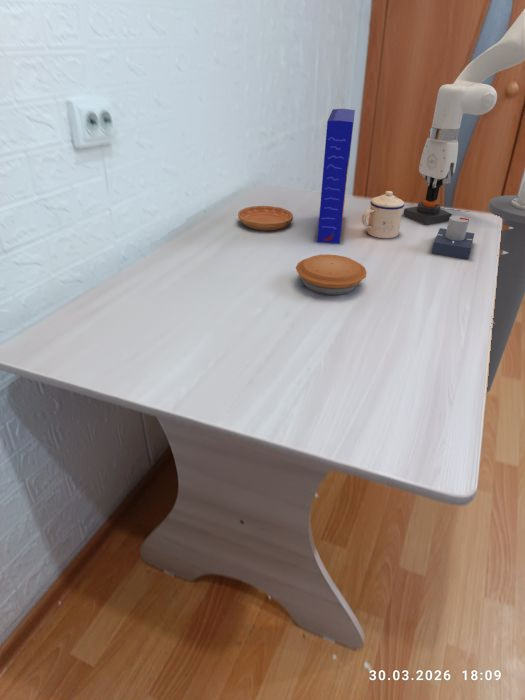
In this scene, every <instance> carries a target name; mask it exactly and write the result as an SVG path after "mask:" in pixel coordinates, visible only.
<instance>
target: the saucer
mask: <svg viewBox="0 0 525 700" xmlns="http://www.w3.org/2000/svg"><path fill="white" fill-rule="evenodd" d="M237 218H238V220H239V221H240V222H241V223H242V224H243V225H244V226H246V227H247V228H250V229H253V230H256V231H277V230H281V229H284V228H285V227H286V226H288V225H289V224H290V223H291V222H292V221H293V218H294V214H293V212H291V211H290V210H288V209H286V208H282V207H280V206H279V207H278V206H272V205H253V206H248V207H244V208H242V209H240V210H239V211H238V213H237Z"/></svg>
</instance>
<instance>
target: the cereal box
mask: <svg viewBox="0 0 525 700" xmlns="http://www.w3.org/2000/svg"><path fill="white" fill-rule="evenodd" d="M355 113H356V110H355V109H349V108H333V109H331V112H330V114H329V117H328V119H327V120H326V121H327V122H326V131H325V132H326V133H325V143H324V144H325V145H324V156H323V168H322V181H321V190H320V203H319V214H318V227H317V238H316V239H317V240H316V242H317V243H326V244H327V243H328V244H340V243H341V235H342V227H343V219H344V212H345V211H344V210H345V203H346V192H347V185H348V176H349V166H350V157H351V148H352V140H353V130H354V123H355V122H354V121H355Z"/></svg>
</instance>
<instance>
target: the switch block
mask: <svg viewBox="0 0 525 700" xmlns="http://www.w3.org/2000/svg"><path fill="white" fill-rule="evenodd" d="M423 203H424V201H422V202H421V201H420V202H419V203H417V206H411V207H405V208H403V213H402V216H404V217H406V218H408V219H411V220H413V221H415V222H417V223H420V224H422V225H425V226H428V225H429V226H430V225H434V224H440V223H445V222H449V218H450V217H451V216H453V213H451V212H450V211H446V210H444V209H442V208H441V207H442V206H441V204H438V203H436V205H435V207H426V206H423Z"/></svg>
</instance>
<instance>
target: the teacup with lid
mask: <svg viewBox="0 0 525 700" xmlns="http://www.w3.org/2000/svg"><path fill="white" fill-rule="evenodd" d="M404 207H405V202H404V200H403V199H401V198H398V197H397V196H396V195H394V193H393V191H391V190H386V191H385V192H384V194H381V195H379V196H375V197H372V199H371V200H370V208H369V209H367V210H365V211H364V212H363V214H362V217H361V223H362V225H363V226H364V227H365V228H367V234H368V235H370V236H371V237H374V238H379V239H393V238H396V237H397V236H398V235H399V234H400V233H399V232H400V227H401V222H402V221H401V220H402V216H403V212H404ZM368 215H369V217H368V223H367V216H368Z"/></svg>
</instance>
